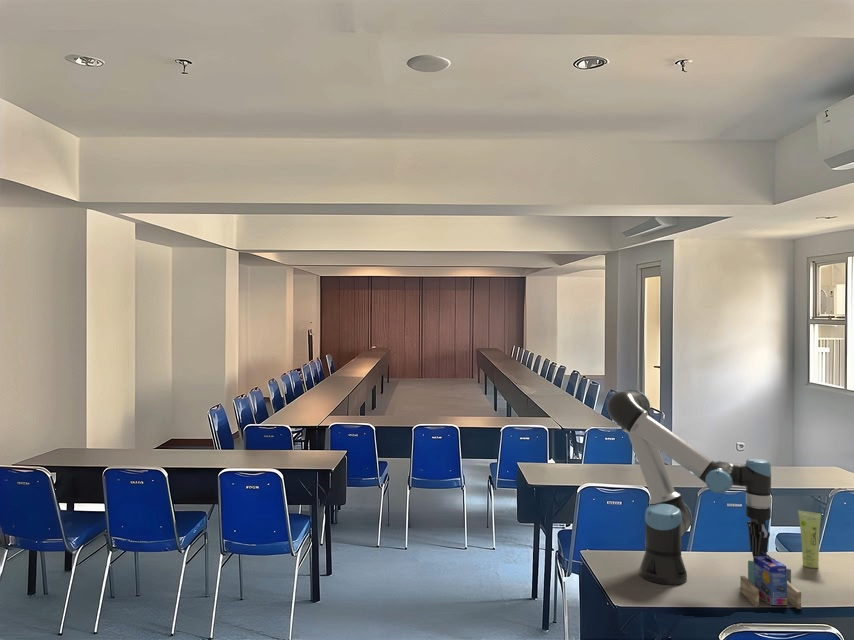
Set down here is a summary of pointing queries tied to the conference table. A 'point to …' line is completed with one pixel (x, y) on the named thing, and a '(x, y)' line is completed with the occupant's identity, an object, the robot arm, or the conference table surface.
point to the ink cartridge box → (770, 580)
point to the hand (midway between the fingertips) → (757, 575)
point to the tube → (810, 537)
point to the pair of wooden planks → (753, 592)
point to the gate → (751, 572)
